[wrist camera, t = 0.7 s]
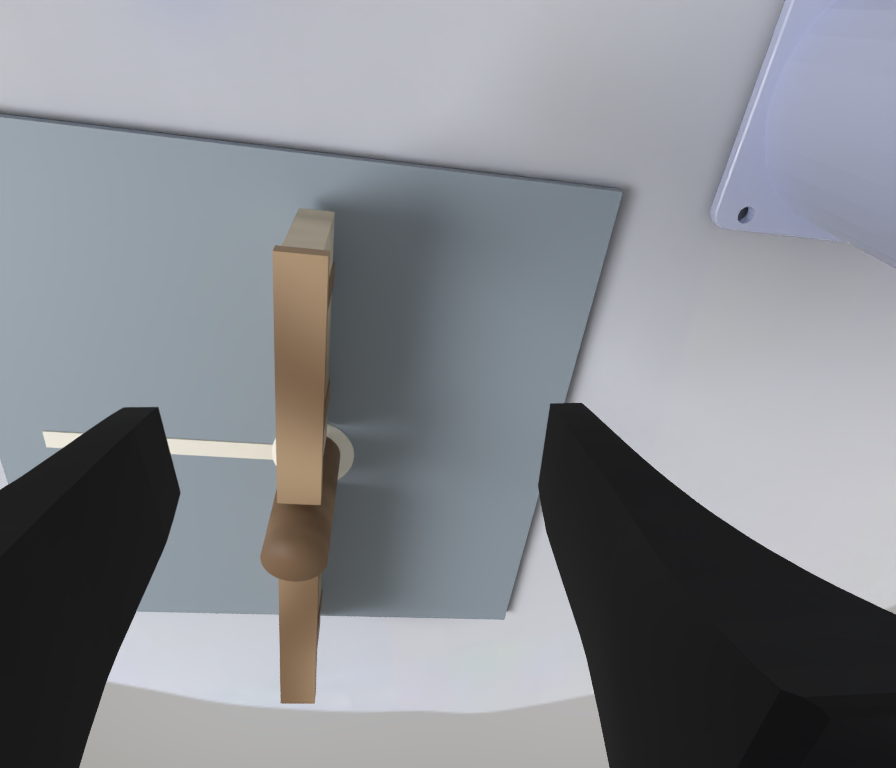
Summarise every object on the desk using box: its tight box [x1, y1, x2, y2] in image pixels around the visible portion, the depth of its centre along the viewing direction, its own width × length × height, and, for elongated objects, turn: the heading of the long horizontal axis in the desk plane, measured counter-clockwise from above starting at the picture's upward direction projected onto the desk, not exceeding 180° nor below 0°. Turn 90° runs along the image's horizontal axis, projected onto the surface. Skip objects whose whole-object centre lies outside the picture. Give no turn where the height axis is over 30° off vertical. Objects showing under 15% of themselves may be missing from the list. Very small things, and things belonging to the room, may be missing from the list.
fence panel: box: [272, 208, 335, 505], centre depth 18 cm, size 8×1×4 cm, turn 172°
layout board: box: [0, 114, 623, 620], centre depth 22 cm, size 20×20×1 cm
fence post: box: [260, 436, 340, 703], centre depth 23 cm, size 2×10×6 cm, turn 173°
